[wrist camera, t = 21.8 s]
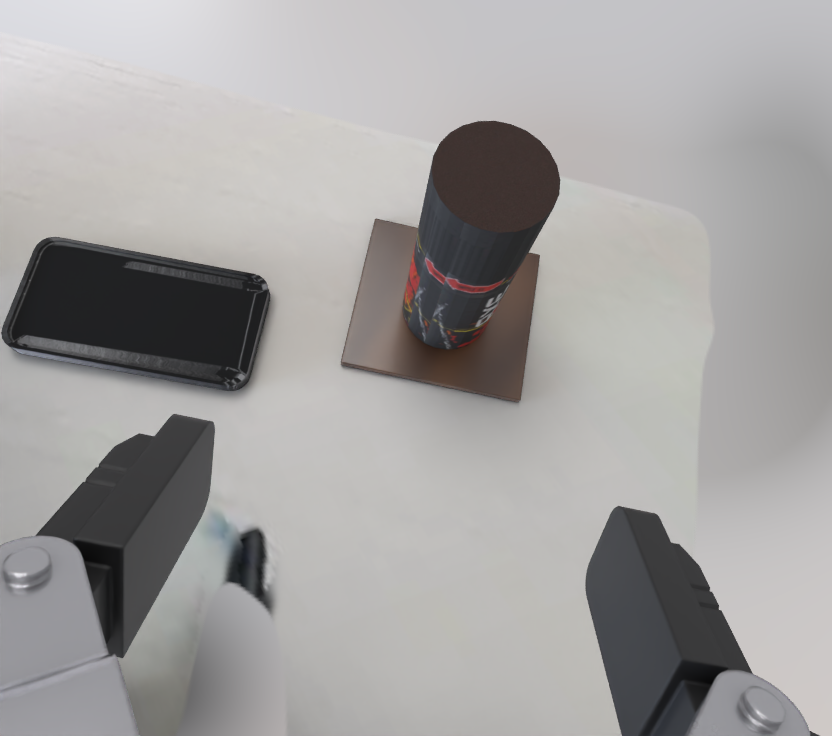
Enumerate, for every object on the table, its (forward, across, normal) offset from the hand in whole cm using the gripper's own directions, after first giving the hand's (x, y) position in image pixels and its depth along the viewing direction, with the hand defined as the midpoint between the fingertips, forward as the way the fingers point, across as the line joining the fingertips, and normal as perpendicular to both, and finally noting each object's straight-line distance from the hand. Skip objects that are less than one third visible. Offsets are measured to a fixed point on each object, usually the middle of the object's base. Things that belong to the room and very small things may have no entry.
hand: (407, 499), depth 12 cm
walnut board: (+31, -2, +7) cm, 31 cm away
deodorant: (+30, -2, +7) cm, 31 cm away
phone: (+27, +17, +11) cm, 34 cm away
